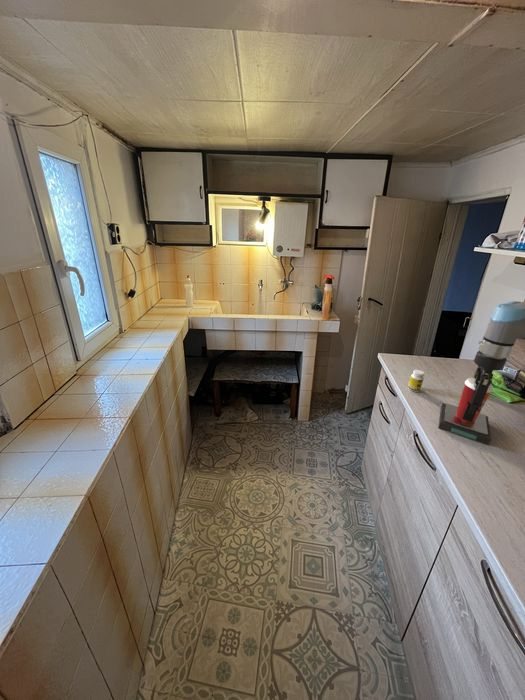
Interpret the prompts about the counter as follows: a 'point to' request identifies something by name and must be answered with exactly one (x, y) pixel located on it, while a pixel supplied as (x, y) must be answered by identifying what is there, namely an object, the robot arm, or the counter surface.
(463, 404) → the paper cup
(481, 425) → the kitchen scale
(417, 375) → the supplement bottle
